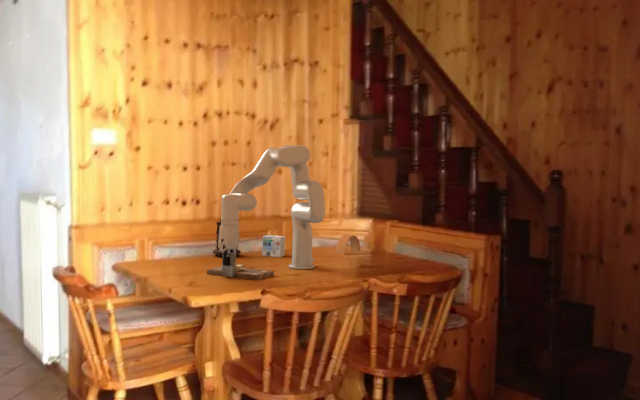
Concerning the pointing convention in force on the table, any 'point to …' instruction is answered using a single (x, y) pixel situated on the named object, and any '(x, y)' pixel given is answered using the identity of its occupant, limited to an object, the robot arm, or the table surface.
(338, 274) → the table surface
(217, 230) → the brown wooden chair
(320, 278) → the table surface
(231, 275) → the marking gauge
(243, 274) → the walnut board
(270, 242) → the light bulb box
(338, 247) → the arch
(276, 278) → the table surface
